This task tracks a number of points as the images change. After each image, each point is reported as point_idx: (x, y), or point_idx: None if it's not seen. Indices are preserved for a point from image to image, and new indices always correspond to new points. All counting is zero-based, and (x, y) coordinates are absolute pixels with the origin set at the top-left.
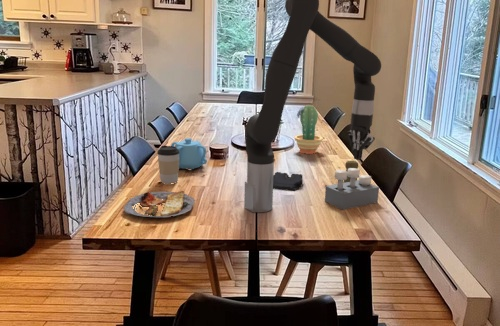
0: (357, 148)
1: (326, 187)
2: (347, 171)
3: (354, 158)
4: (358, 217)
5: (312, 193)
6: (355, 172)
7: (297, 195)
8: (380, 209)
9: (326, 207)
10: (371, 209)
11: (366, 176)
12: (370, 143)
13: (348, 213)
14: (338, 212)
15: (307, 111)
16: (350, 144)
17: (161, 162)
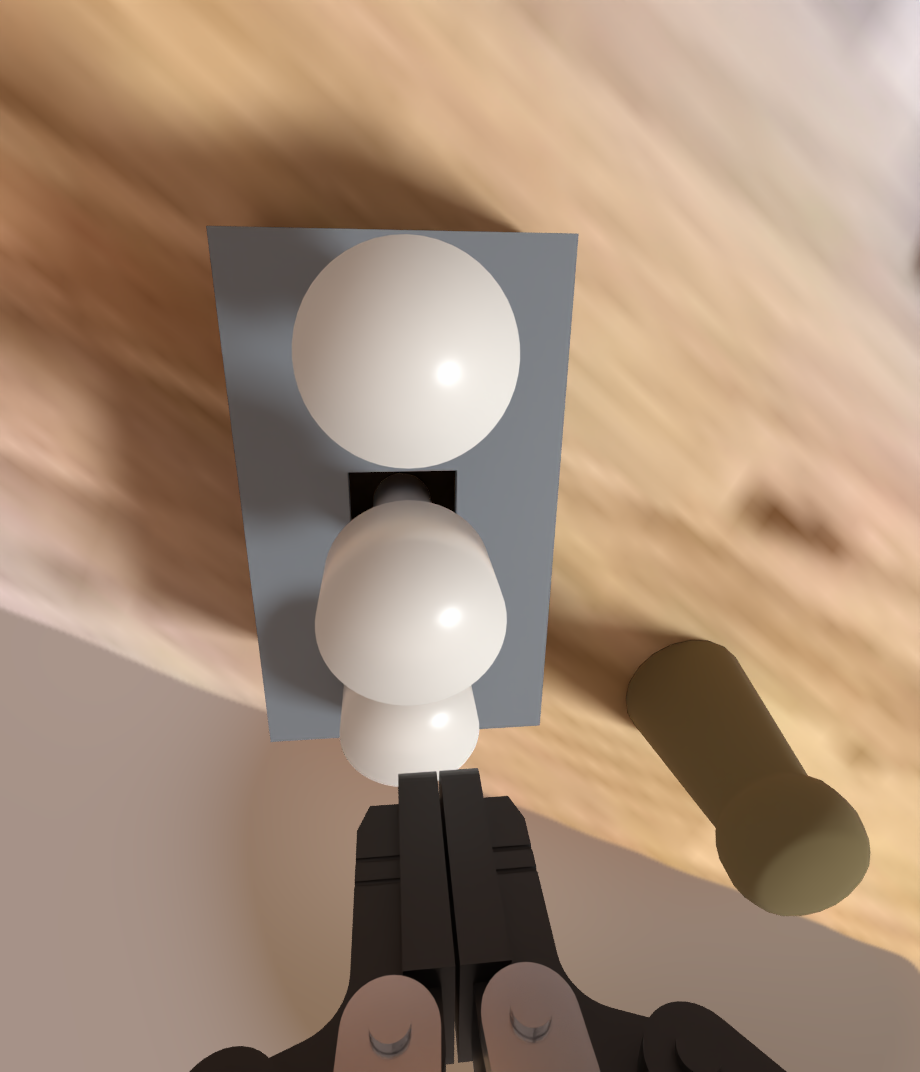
0: (389, 1016)
1: (559, 234)
2: (765, 754)
3: (463, 771)
4: (5, 233)
5: (767, 284)
6: (325, 586)
7: (825, 78)
8: (138, 566)
9: (379, 118)
10: (164, 499)
11: (412, 751)
12: None
13: (140, 218)
14: (201, 134)
15: None
16: (735, 1048)
17: None
